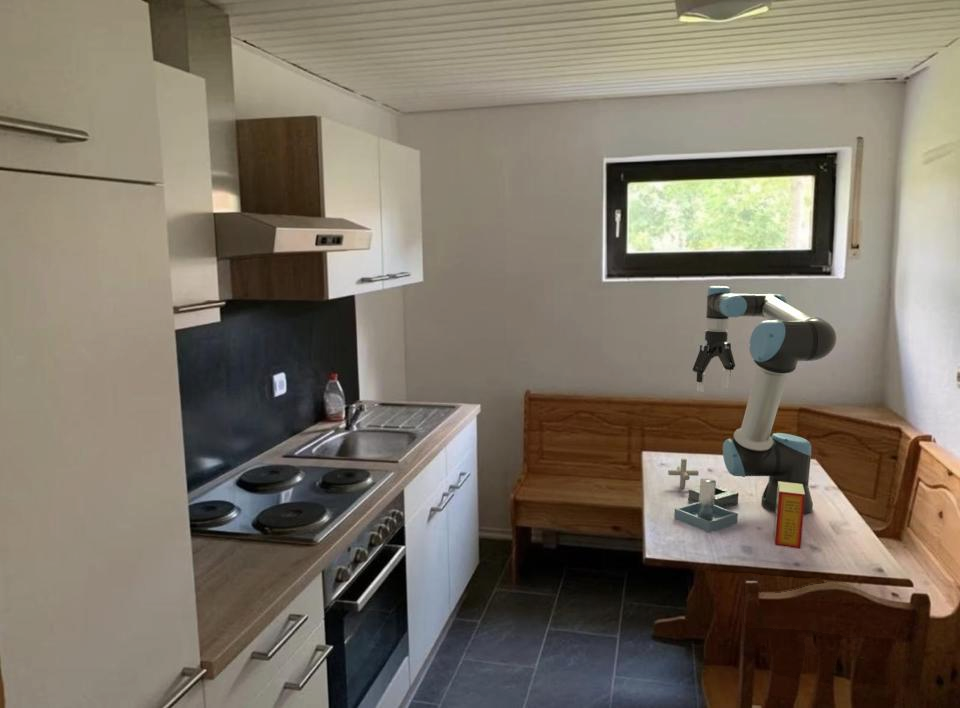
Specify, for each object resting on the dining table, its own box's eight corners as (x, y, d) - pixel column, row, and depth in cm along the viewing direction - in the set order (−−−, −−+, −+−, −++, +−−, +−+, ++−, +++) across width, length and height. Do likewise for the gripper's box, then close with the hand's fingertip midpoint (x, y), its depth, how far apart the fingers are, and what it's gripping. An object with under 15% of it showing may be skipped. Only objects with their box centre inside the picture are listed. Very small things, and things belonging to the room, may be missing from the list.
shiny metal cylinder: (715, 519, 218) (718, 481, 216) (706, 522, 216) (710, 484, 214) (703, 514, 222) (706, 477, 220) (694, 517, 219) (697, 480, 217)
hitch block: (737, 503, 235) (738, 492, 234) (715, 509, 229) (716, 499, 228) (710, 493, 244) (710, 483, 243) (688, 499, 238) (688, 489, 237)
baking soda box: (773, 532, 211) (778, 479, 208) (798, 535, 209) (802, 482, 206) (775, 545, 202) (779, 490, 200) (800, 548, 200) (805, 493, 197)
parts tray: (737, 523, 217) (738, 513, 217) (708, 532, 210) (709, 522, 210) (702, 510, 228) (702, 500, 227) (674, 518, 221) (674, 508, 220)
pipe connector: (701, 492, 245) (702, 463, 243) (671, 491, 245) (672, 463, 243) (693, 482, 255) (694, 454, 253) (664, 481, 255) (666, 454, 253)
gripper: (730, 327, 265) (726, 383, 268) (684, 331, 251) (681, 390, 255) (747, 329, 259) (744, 387, 262) (701, 333, 245) (698, 394, 248)
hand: (713, 389), depth 258 cm, fingers open, 13 cm apart
